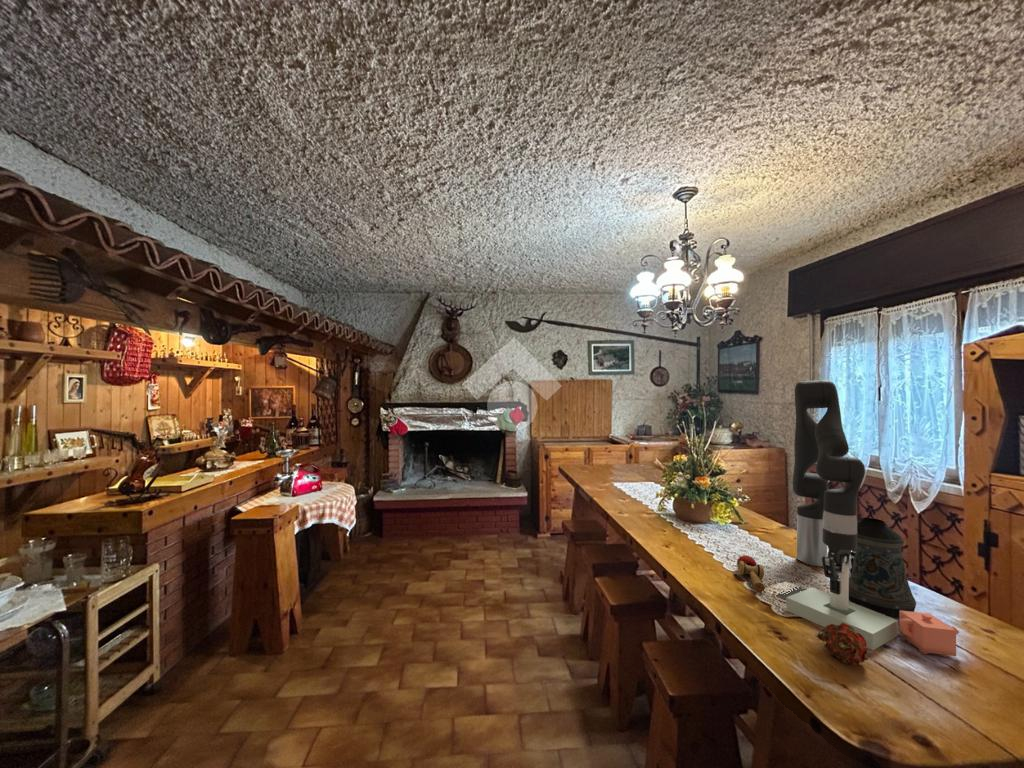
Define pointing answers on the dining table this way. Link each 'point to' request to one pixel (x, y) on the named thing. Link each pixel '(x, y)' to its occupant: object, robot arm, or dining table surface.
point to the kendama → (751, 571)
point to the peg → (842, 592)
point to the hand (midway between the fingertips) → (839, 591)
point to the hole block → (843, 616)
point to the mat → (790, 593)
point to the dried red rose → (845, 643)
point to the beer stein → (880, 570)
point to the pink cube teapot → (928, 633)
